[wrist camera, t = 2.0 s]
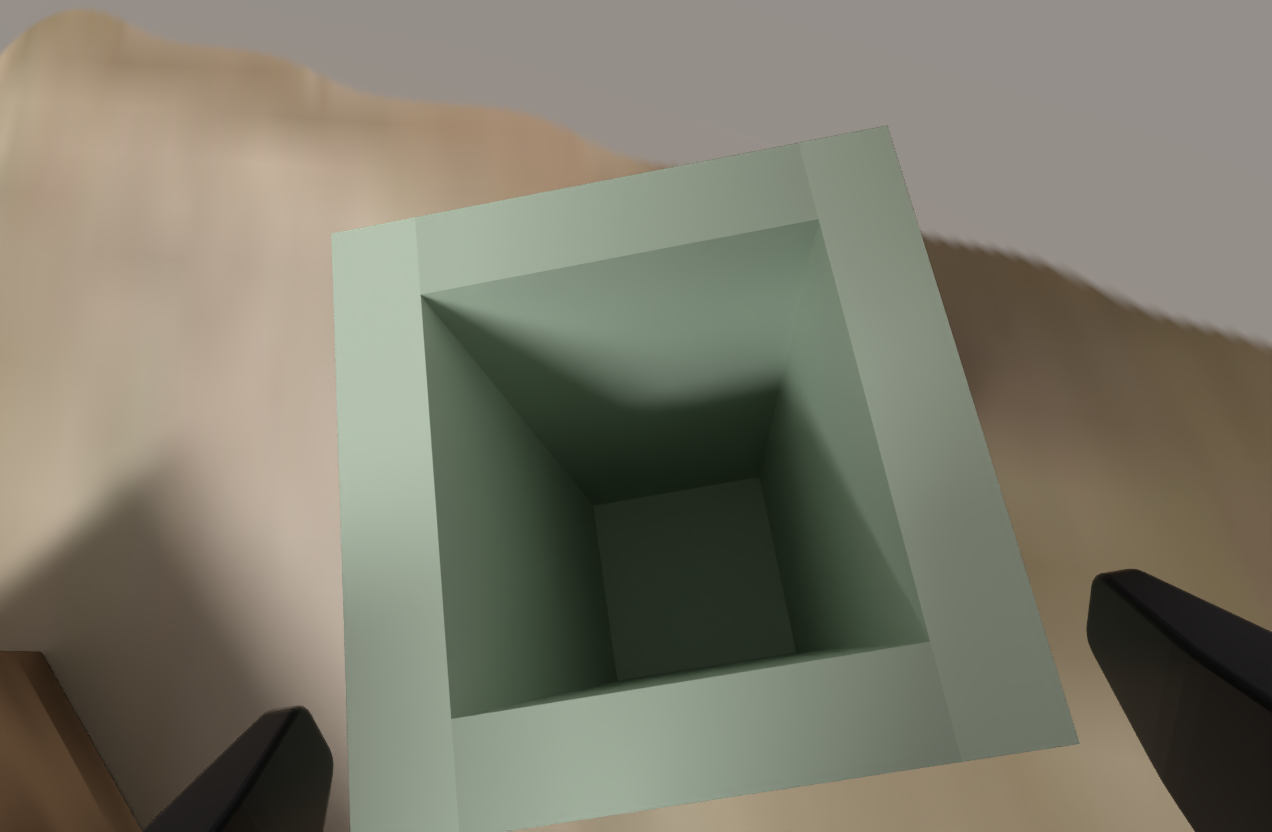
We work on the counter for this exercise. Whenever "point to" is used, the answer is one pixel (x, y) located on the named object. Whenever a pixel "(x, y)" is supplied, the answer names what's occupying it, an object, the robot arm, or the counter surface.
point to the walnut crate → (50, 758)
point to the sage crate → (668, 501)
